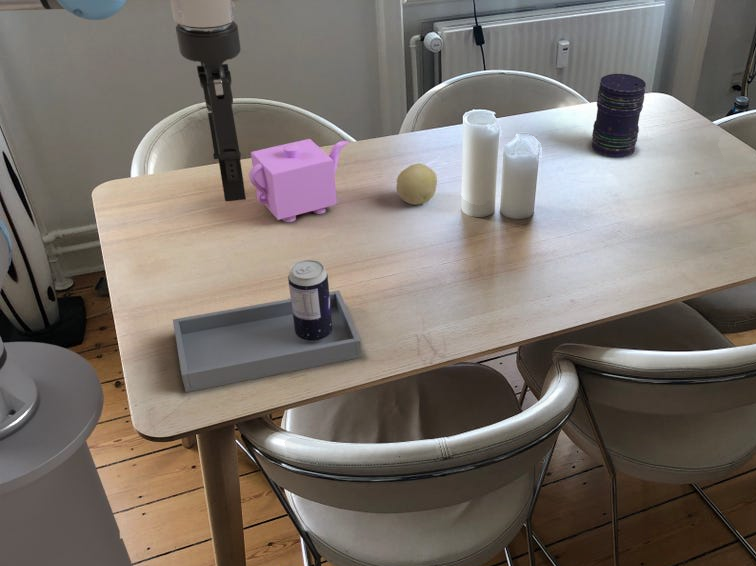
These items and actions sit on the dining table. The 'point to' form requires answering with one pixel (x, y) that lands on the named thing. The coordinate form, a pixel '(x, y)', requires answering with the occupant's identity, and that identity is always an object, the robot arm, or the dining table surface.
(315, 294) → the beverage can
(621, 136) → the dark blue cylinder
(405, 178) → the potato
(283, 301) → the tray
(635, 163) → the dining table surface
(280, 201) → the teapot
